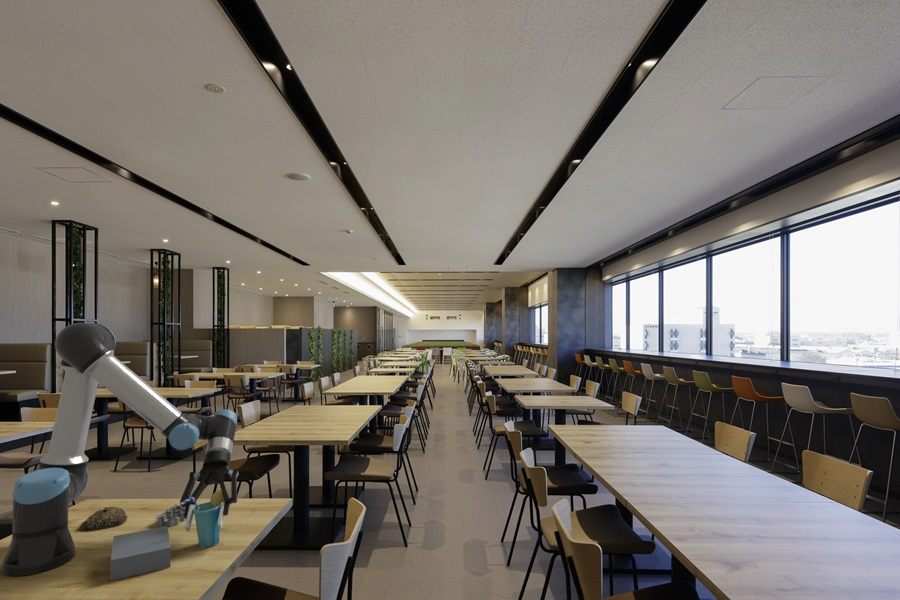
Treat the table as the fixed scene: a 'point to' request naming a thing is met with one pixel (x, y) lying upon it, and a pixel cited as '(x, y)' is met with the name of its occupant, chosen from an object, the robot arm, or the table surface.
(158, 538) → the slate block
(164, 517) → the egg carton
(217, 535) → the cup
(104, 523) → the bread roll
